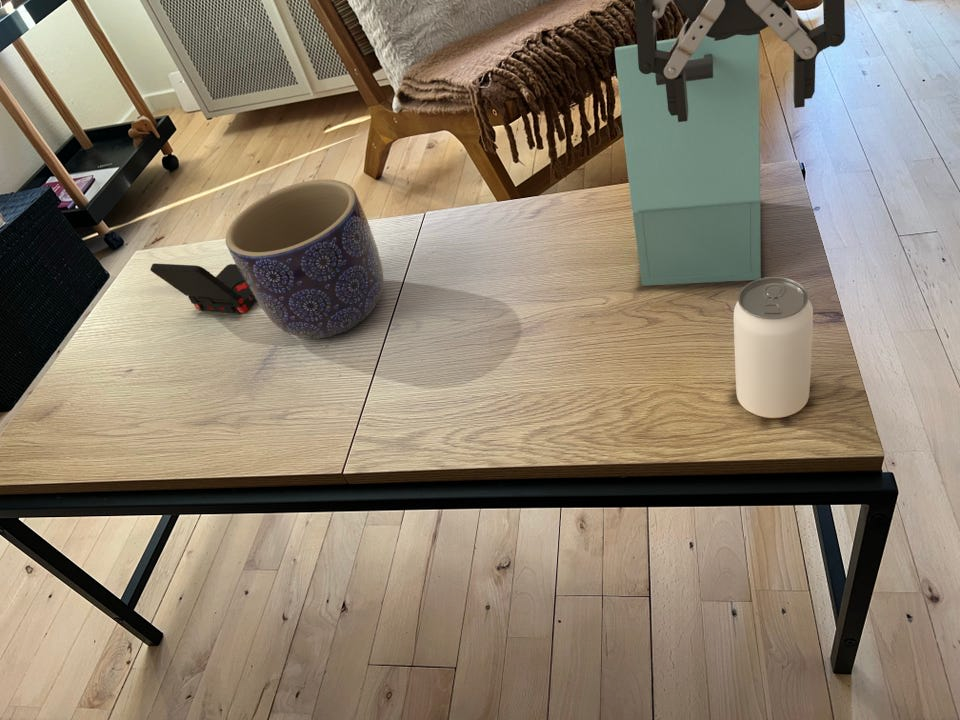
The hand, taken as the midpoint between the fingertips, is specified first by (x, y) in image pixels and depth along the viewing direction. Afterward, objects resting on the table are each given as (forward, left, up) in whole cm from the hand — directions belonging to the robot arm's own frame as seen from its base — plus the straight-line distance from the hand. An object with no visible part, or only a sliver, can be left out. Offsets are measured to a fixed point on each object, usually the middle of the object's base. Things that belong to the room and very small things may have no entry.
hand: (740, 110), depth 61 cm
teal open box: (+5, -21, -27) cm, 34 cm away
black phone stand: (+69, -15, -27) cm, 75 cm away
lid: (+5, -15, -8) cm, 17 cm away
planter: (+51, -11, -27) cm, 58 cm away
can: (-2, +5, -27) cm, 27 cm away
